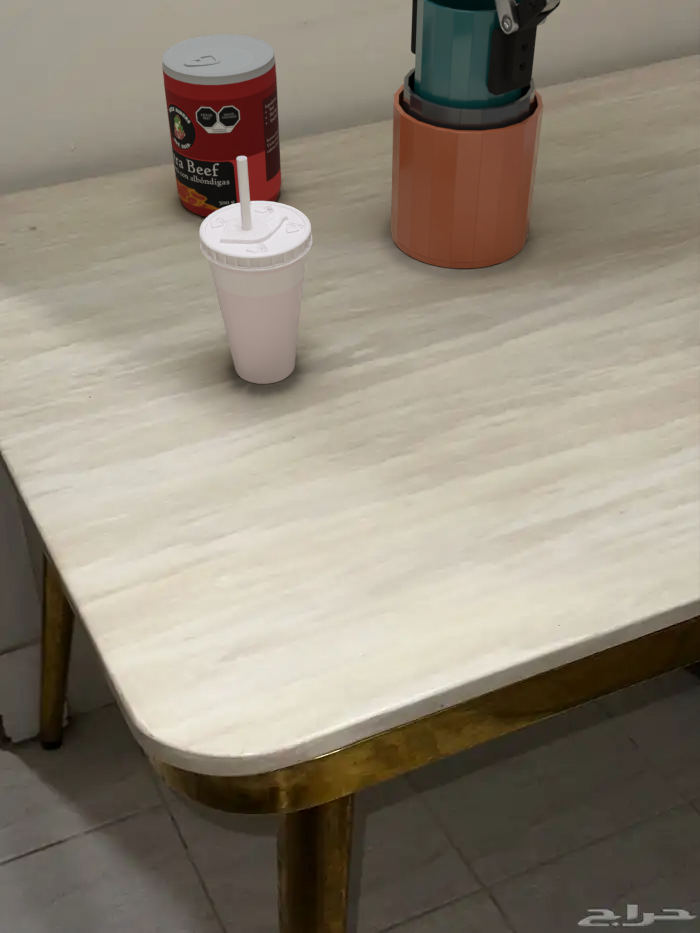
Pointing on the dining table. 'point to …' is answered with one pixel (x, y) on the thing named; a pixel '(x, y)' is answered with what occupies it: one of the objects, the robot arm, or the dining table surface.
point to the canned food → (222, 119)
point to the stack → (462, 189)
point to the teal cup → (456, 53)
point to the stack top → (467, 110)
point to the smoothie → (258, 279)
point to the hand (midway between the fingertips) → (469, 67)
